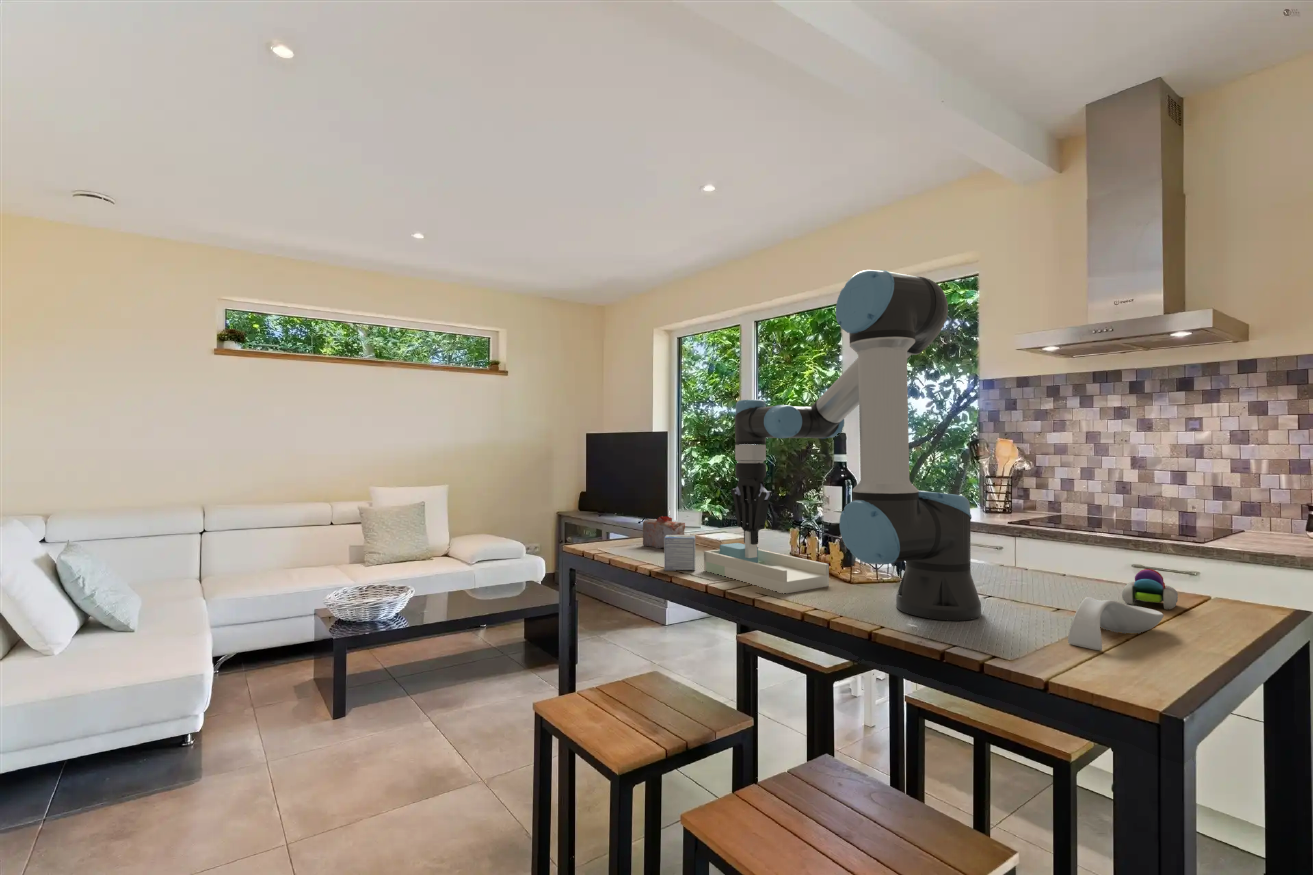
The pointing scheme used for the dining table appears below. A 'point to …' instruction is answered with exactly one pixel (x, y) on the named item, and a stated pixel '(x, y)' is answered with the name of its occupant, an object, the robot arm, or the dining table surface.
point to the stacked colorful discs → (1150, 589)
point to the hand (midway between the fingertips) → (751, 557)
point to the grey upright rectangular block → (679, 552)
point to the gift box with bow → (660, 530)
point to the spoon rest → (1108, 621)
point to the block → (736, 551)
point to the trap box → (770, 571)
